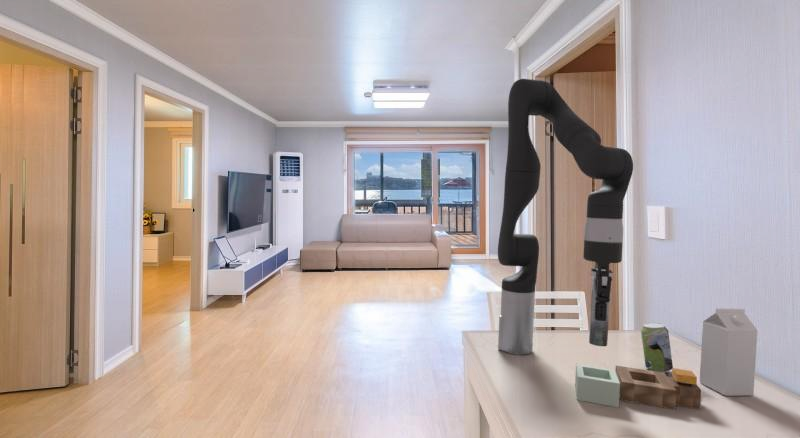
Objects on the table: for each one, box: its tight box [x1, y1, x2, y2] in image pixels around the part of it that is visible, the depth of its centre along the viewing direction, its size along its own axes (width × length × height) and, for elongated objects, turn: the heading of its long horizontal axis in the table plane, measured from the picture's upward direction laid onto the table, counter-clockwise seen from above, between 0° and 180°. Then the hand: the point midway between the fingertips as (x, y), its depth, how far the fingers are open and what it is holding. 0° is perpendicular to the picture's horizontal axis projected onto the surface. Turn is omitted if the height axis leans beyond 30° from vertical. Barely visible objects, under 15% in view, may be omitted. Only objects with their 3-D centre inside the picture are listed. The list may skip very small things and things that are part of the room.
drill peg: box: [588, 278, 610, 347], centre depth 90 cm, size 4×4×14 cm
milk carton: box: [699, 307, 758, 397], centre depth 96 cm, size 7×7×19 cm
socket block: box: [614, 365, 702, 410], centre depth 91 cm, size 15×10×4 cm, turn 70°
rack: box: [574, 363, 620, 408], centre depth 91 cm, size 8×8×5 cm
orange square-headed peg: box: [671, 367, 698, 386], centre depth 89 cm, size 4×4×6 cm
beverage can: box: [640, 322, 674, 374], centre depth 106 cm, size 6×7×12 cm
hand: (599, 317), depth 90 cm, fingers closed on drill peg, 3 cm apart
